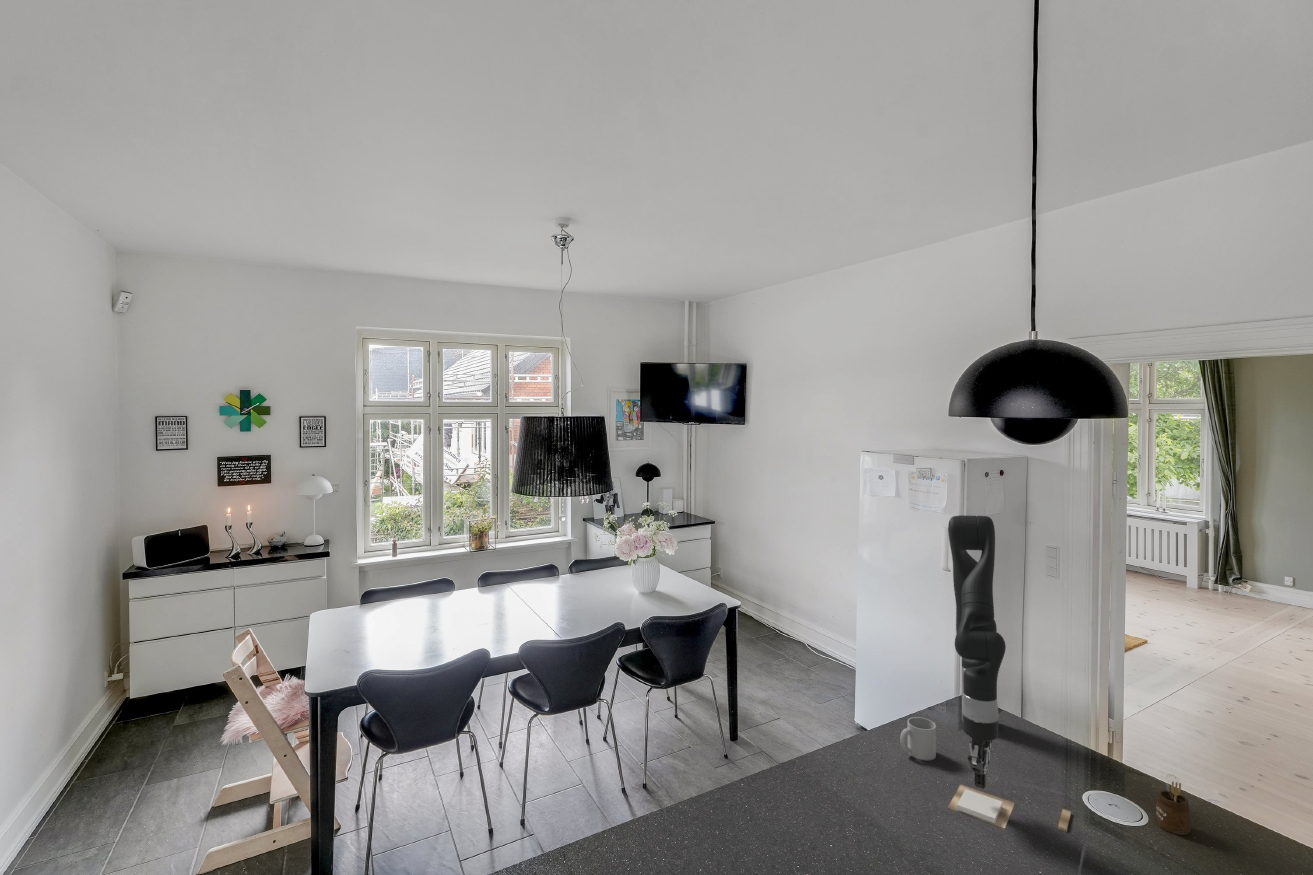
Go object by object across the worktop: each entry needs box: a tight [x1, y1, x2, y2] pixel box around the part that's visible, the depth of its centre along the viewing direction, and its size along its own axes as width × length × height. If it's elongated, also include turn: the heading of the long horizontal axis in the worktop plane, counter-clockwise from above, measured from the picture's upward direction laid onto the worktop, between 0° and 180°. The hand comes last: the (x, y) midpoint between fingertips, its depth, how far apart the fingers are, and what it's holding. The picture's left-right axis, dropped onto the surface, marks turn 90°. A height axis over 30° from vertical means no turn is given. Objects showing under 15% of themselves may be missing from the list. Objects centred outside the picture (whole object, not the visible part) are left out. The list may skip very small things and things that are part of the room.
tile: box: [957, 789, 1002, 823], centre depth 143 cm, size 1×8×8 cm
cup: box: [899, 716, 937, 761], centre depth 167 cm, size 7×10×9 cm
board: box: [947, 784, 1016, 829], centre depth 144 cm, size 12×12×1 cm
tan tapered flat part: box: [1057, 808, 1072, 833], centre depth 136 cm, size 13×4×1 cm, turn 140°
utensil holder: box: [1155, 773, 1192, 836], centre depth 136 cm, size 6×6×12 cm
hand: (980, 785), depth 143 cm, fingers closed
